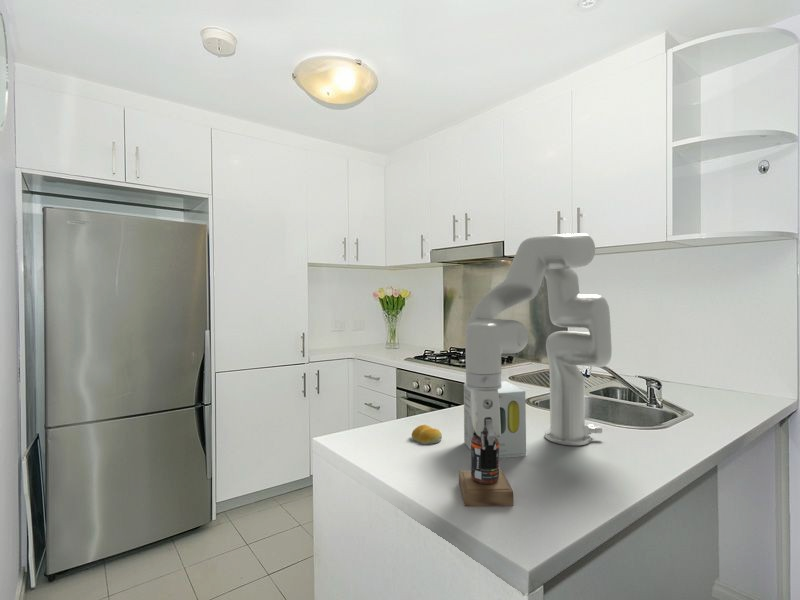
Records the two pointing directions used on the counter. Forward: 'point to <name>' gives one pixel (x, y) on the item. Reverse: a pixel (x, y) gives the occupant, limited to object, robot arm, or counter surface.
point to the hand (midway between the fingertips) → (484, 458)
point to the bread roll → (426, 434)
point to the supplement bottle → (476, 471)
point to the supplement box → (503, 420)
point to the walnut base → (485, 491)
